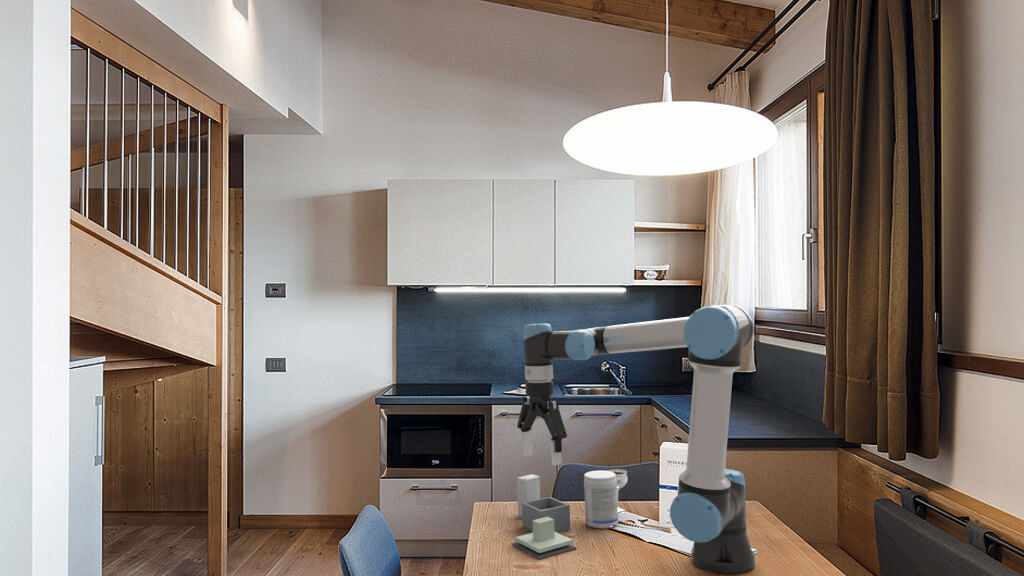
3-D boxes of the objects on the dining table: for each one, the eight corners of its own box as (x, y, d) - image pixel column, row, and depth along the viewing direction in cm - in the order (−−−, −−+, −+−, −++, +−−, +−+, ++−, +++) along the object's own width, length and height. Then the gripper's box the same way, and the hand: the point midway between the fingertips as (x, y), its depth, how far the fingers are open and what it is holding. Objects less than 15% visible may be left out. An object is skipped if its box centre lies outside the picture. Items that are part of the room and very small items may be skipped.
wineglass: (623, 515, 210) (622, 475, 210) (603, 511, 214) (602, 473, 214) (631, 508, 216) (630, 470, 216) (611, 505, 219) (610, 468, 219)
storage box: (570, 529, 199) (569, 504, 199) (541, 536, 194) (541, 511, 194) (550, 520, 207) (549, 496, 207) (522, 526, 202) (521, 502, 202)
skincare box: (532, 512, 215) (531, 473, 216) (541, 515, 212) (540, 476, 212) (517, 516, 212) (515, 476, 212) (526, 520, 208) (524, 479, 208)
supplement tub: (625, 523, 202) (623, 473, 202) (604, 532, 196) (603, 480, 196) (599, 516, 209) (597, 468, 209) (578, 524, 203) (577, 474, 203)
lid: (572, 546, 184) (572, 521, 184) (539, 556, 178) (538, 529, 178) (548, 535, 193) (547, 510, 193) (515, 543, 187) (515, 518, 187)
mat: (576, 549, 183) (576, 547, 183) (539, 559, 177) (539, 557, 177) (548, 535, 194) (548, 533, 194) (512, 544, 188) (512, 542, 188)
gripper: (503, 378, 195) (506, 453, 194) (554, 386, 173) (557, 471, 173) (525, 376, 198) (528, 449, 198) (578, 383, 177) (581, 466, 177)
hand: (542, 459), depth 186 cm, fingers open, 13 cm apart
